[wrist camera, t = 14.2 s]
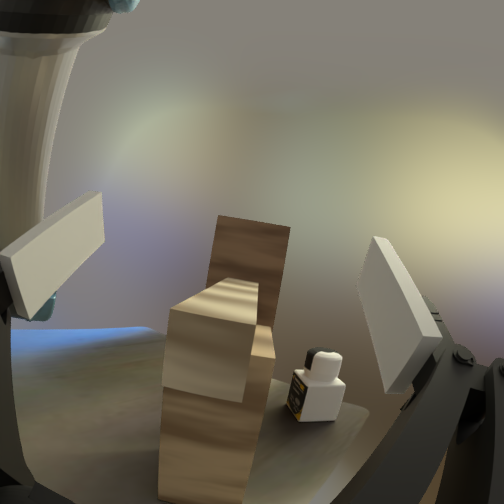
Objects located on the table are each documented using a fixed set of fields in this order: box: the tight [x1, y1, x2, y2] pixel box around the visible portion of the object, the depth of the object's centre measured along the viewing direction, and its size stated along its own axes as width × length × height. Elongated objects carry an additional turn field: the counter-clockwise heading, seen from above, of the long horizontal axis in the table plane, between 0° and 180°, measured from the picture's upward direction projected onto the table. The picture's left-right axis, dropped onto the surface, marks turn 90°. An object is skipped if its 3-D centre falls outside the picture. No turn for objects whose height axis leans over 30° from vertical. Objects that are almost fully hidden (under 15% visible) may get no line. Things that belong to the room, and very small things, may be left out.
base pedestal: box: [158, 325, 276, 504], centre depth 27 cm, size 11×8×18 cm
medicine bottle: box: [287, 347, 346, 422], centre depth 48 cm, size 7×7×12 cm
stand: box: [205, 215, 290, 333], centre depth 50 cm, size 18×10×30 cm, turn 179°
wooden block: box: [161, 278, 258, 403], centre depth 27 cm, size 26×4×4 cm, turn 179°
